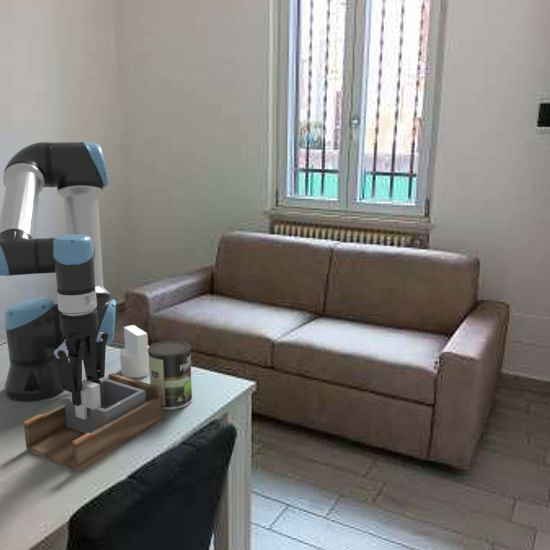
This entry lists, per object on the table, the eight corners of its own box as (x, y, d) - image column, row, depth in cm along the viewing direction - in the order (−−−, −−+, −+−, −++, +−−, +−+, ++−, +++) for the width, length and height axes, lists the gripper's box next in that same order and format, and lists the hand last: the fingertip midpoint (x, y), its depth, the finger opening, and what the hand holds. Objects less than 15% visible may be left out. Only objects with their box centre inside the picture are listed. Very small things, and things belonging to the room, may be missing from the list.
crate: (64, 427, 130) (60, 377, 127) (107, 405, 140) (103, 358, 137) (105, 443, 124) (101, 390, 121) (146, 418, 134) (144, 369, 131)
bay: (26, 449, 124) (22, 414, 122) (114, 403, 145) (112, 373, 143) (78, 472, 116) (75, 435, 114) (164, 419, 137) (162, 388, 135)
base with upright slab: (115, 369, 165) (113, 329, 162) (145, 362, 170) (143, 322, 167) (129, 380, 158) (126, 338, 155) (159, 372, 163) (157, 331, 160)
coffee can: (198, 393, 150) (196, 341, 147) (184, 412, 140) (182, 357, 137) (160, 389, 152) (157, 338, 149) (143, 408, 142) (140, 353, 139)
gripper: (60, 323, 113) (70, 434, 118) (118, 304, 125) (124, 405, 131) (34, 317, 116) (45, 425, 122) (93, 298, 129) (100, 397, 135)
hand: (86, 414), depth 127 cm, fingers closed on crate, 2 cm apart
